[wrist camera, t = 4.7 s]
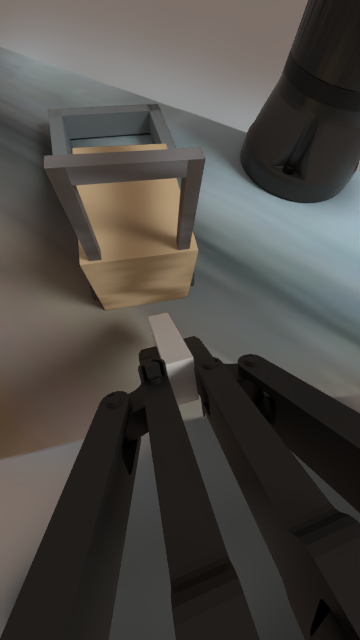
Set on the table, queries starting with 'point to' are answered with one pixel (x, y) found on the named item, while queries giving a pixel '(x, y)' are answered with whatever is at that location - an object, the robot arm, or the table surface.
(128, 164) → the cart
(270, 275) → the table surface
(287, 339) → the table surface
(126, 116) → the frame
